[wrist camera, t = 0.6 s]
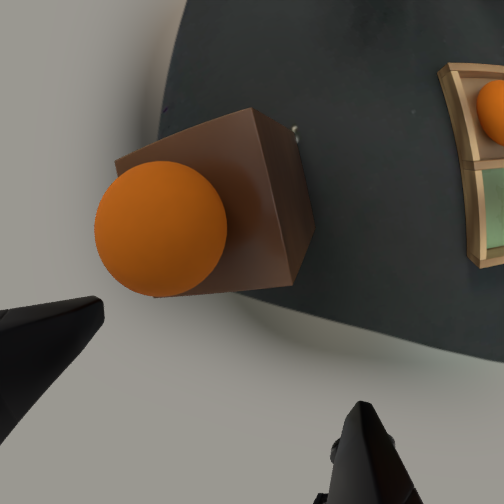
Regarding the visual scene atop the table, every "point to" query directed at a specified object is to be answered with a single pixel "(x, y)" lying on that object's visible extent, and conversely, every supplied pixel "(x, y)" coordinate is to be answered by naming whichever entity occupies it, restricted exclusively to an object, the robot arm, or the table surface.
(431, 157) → the table surface
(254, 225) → the brown wooden block
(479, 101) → the clementine
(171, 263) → the clementine
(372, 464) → the robot arm
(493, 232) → the fruit rack
